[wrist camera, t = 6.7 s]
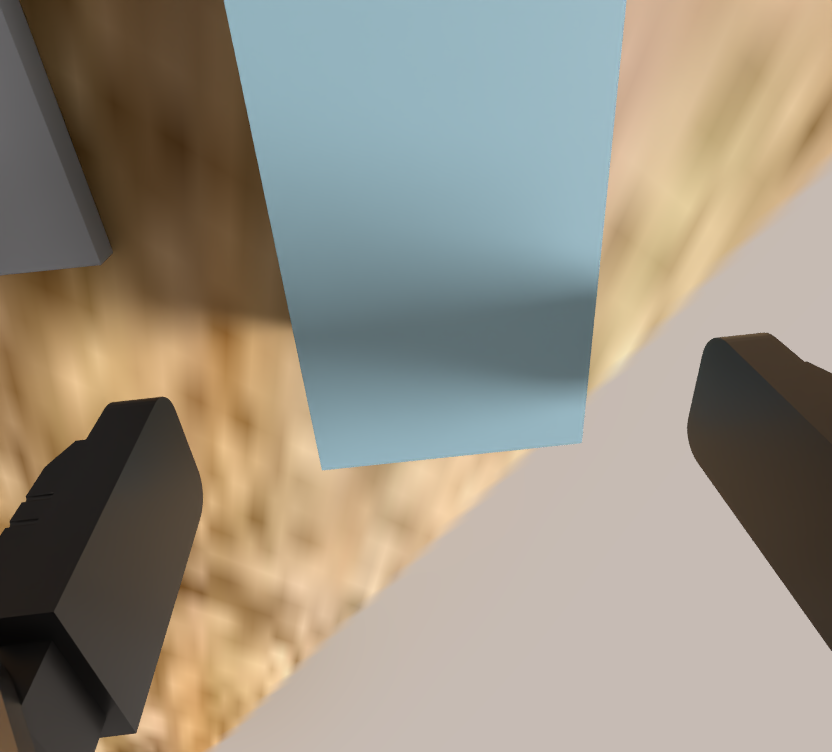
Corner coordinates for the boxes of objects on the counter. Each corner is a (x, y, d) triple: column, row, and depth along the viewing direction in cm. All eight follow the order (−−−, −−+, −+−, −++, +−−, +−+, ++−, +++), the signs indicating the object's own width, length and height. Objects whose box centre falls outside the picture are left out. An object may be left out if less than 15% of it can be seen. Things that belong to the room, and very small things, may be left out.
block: (230, -315, 10) (89, -644, 5) (527, -337, 10) (694, -679, 5) (334, 324, 16) (321, 470, 11) (514, 306, 16) (581, 443, 11)
